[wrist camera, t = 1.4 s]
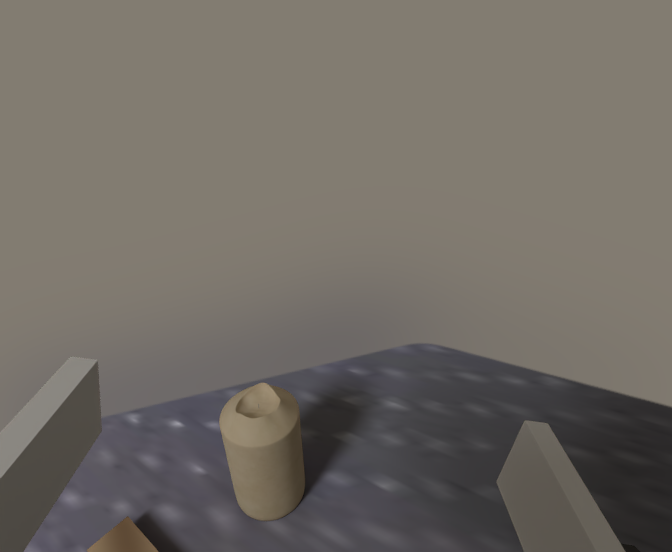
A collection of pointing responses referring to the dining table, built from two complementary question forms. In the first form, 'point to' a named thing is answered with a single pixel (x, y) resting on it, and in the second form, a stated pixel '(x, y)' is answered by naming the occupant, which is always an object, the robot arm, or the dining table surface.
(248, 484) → the candle
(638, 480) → the dining table surface
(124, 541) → the strip
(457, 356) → the dining table surface
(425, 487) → the dining table surface
